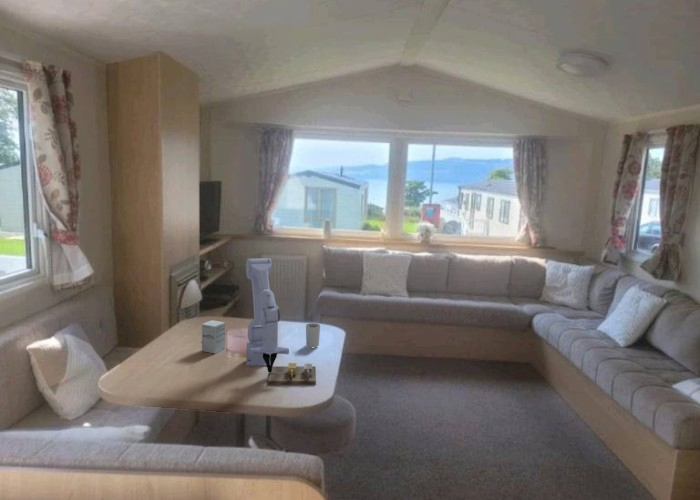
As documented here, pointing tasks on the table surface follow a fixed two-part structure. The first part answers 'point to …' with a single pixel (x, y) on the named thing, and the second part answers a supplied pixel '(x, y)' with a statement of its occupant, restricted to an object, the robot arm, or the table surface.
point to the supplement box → (213, 336)
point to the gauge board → (302, 377)
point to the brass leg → (292, 369)
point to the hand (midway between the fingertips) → (269, 371)
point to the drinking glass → (312, 334)
